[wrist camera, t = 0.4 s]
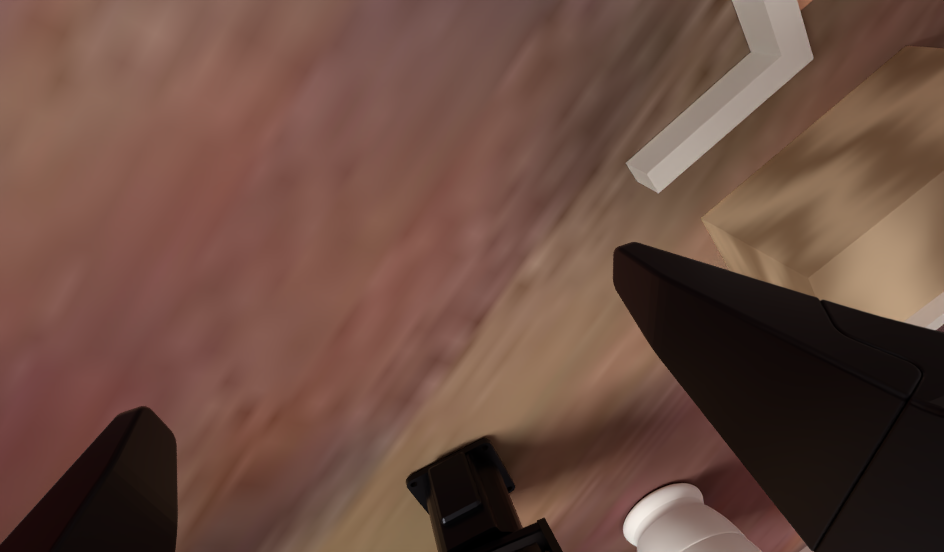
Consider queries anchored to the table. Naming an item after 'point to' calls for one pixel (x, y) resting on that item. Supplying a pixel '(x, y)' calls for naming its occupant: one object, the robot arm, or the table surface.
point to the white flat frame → (742, 104)
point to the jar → (682, 524)
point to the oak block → (852, 198)
